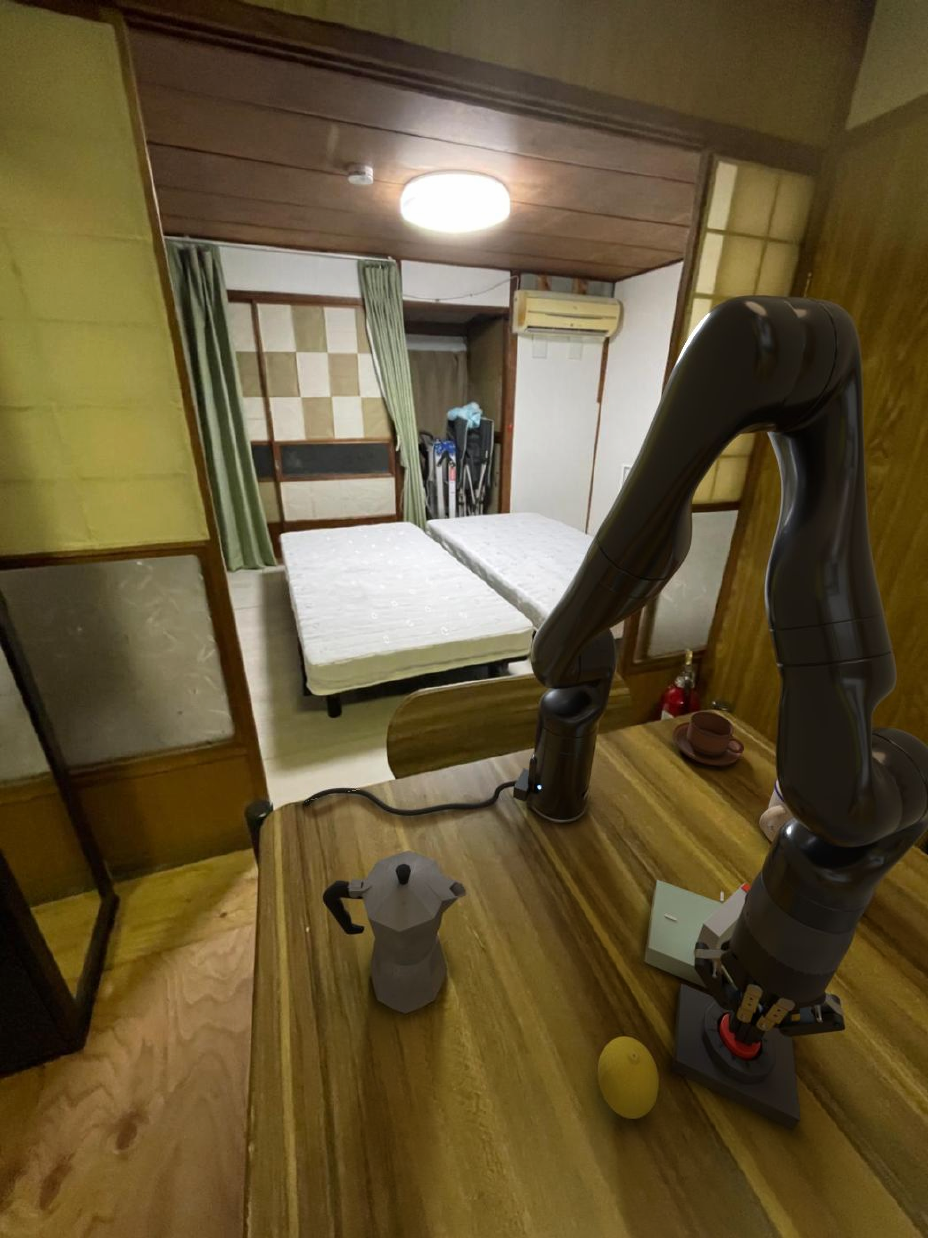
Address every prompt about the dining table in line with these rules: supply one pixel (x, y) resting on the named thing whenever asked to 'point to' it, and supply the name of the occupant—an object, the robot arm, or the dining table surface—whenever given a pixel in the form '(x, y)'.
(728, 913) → the gray rectangular block
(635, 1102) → the lemon
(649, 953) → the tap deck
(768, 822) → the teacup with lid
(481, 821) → the dining table surface
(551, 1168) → the dining table surface
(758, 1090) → the button block
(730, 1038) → the tap button
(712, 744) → the cup and saucer
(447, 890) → the coffeepot
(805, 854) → the robot arm
